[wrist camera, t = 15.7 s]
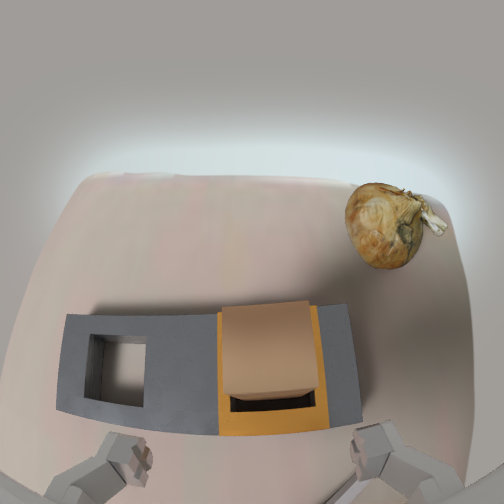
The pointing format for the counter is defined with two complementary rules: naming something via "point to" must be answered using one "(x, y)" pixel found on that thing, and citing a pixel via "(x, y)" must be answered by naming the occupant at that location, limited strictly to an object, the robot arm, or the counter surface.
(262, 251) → the counter surface
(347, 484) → the caliper
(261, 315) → the peg
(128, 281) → the counter surface
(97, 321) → the rail
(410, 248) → the onion
